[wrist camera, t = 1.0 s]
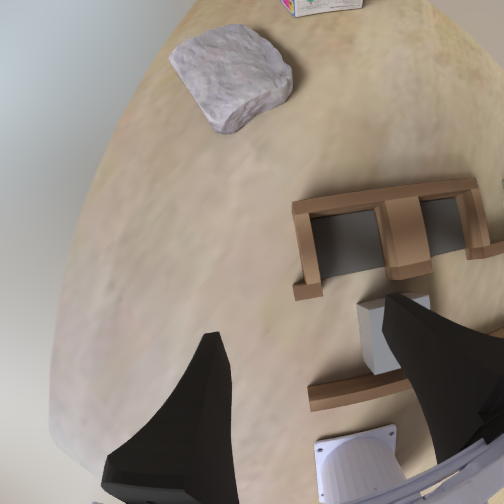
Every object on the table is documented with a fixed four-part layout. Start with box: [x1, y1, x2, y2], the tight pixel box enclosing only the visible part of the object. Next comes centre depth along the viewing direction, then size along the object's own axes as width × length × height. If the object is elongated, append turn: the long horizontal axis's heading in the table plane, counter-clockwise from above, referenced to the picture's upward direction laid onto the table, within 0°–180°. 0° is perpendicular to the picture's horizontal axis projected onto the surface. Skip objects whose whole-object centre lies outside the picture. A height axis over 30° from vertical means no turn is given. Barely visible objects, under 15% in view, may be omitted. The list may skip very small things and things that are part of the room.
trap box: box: [292, 178, 504, 412], centre depth 20 cm, size 16×26×3 cm, turn 100°
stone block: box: [168, 24, 293, 134], centre depth 24 cm, size 12×5×10 cm
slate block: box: [356, 292, 430, 375], centre depth 20 cm, size 5×5×4 cm
